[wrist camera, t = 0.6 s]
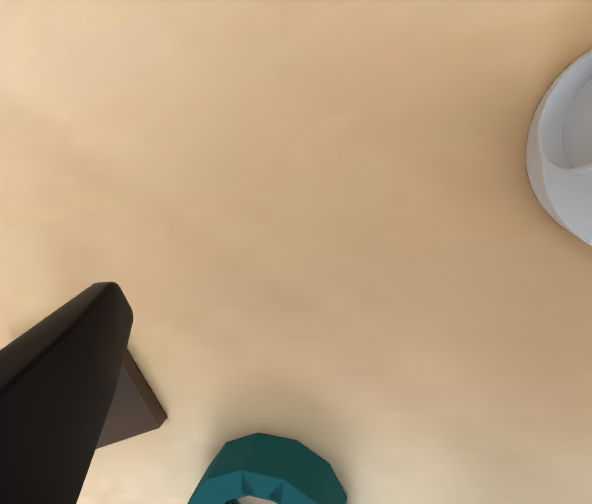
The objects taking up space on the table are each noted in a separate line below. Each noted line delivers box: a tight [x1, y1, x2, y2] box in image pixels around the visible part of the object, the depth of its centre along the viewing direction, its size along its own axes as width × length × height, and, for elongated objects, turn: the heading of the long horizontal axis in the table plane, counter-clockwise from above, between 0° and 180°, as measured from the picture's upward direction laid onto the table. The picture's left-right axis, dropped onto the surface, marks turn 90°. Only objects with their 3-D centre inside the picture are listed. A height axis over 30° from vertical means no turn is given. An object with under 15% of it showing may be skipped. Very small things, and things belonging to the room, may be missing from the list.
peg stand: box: [96, 349, 167, 449], centre depth 25 cm, size 8×8×8 cm
